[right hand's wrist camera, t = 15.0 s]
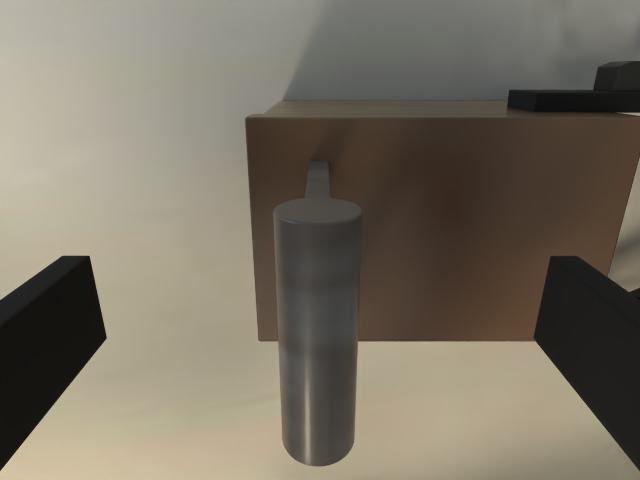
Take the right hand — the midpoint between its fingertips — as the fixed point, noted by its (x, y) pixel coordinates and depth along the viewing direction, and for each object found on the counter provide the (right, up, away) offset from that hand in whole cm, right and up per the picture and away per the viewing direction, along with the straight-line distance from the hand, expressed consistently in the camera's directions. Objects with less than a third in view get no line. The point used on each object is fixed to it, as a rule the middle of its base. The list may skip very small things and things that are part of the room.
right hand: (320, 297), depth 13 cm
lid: (+4, +2, +5) cm, 7 cm away
